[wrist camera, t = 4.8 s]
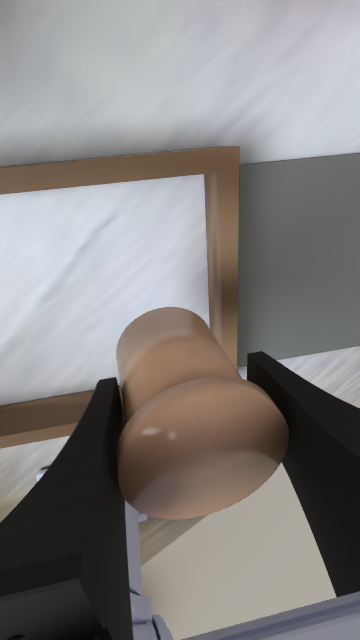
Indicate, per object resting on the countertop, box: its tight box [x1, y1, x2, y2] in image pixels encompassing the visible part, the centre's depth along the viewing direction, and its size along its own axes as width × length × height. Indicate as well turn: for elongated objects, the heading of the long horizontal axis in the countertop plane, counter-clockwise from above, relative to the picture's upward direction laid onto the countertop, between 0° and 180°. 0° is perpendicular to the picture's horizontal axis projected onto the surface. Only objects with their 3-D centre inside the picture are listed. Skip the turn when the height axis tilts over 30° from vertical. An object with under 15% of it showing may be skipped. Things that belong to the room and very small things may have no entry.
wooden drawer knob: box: [116, 307, 289, 519], centre depth 12 cm, size 5×5×6 cm
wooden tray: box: [0, 146, 240, 448], centre depth 19 cm, size 16×20×3 cm
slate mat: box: [237, 153, 360, 367], centre depth 22 cm, size 14×12×1 cm
